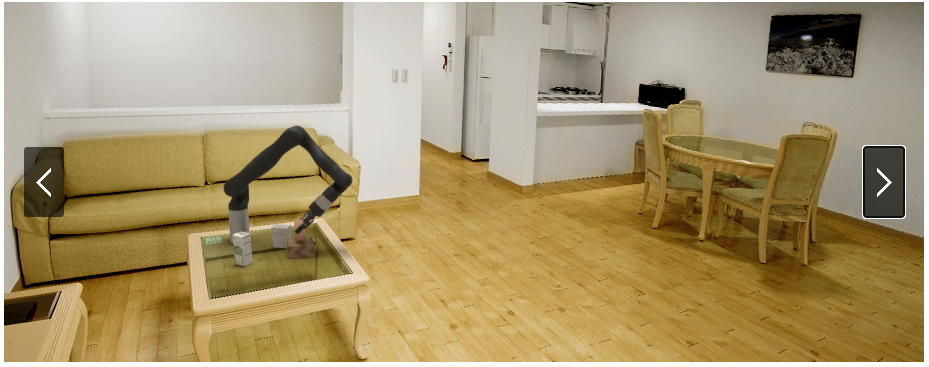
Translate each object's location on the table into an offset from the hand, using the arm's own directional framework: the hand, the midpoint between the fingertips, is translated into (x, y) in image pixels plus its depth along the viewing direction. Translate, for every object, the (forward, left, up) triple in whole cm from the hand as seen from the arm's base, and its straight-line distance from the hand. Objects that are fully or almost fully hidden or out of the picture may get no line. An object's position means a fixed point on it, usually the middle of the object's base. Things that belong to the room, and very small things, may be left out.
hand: (296, 230), depth 293 cm
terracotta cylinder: (+2, 0, -4) cm, 5 cm away
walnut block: (+2, 0, -12) cm, 12 cm away
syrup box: (-24, -7, -12) cm, 28 cm away
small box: (-6, +13, -12) cm, 19 cm away
